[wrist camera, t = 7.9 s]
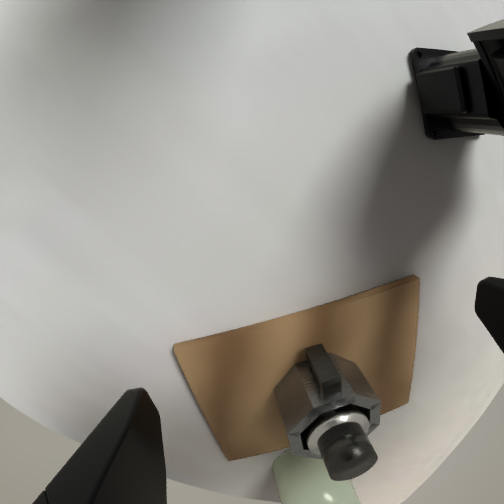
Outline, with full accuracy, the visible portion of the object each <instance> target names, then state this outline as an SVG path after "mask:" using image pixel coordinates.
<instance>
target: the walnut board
mask: <svg viewBox="0 0 504 504" xmlns="http://www.w3.org/2000/svg"><path fill="white" fill-rule="evenodd" d="M419 289H420V278H418V277H417V276H415V275H411V276H408V277H406V278H403V279H400V280H397V281H394V282H391V283H388V284H385V285H382V286H380V287H377V288H374V289H371V290H368V291H365V292H362V293H358V294H355V295H352V296H349V297H346V298H343V299H340V300H337V301H333V302H330V303H327V304H324V305H320V306H317V307H314V308H310V309H307V310H304V311H300V312H297V313H293V314H290V315H286V316H283V317H279V318H276V319H272V320H268V321H265V322H261V323H257V324H254V325H250V326H246V327H242V328H239V329H235V330H231V331H227V332H223V333H219V334H215V335H211V336H207V337H202V338H198V339H194V340H190V341H185V342H181V343H177V344H174V353H175V355H176V357H177V359H178V362H179V364H180V366H181V368H182V370H183V373H184V375H185V377H186V379H187V381H188V383H189V386H190V388H191V390H192V392H193V394H194V396H195V398H196V400H197V402H198V404H199V406H200V408H201V410H202V412H203V414H204V416H205V418H206V420H207V422H208V424H209V426H210V428H211V430H212V432H213V434H214V435H215V437H216V439H217V441H218V443H219V445H220V447H221V448H222V450H223V452H224V454H225V456H226V457H227V459H228V461H232V460H237V459H242V458H247V457H251V456H255V455H260V454H264V453H268V452H272V451H276V450H280V449H283V448H287V447H290V445H289V441H288V438H287V435H286V432H285V429H284V425H283V422H282V419H281V416H280V412H279V409H278V405H277V401H276V398H275V394H274V390H273V389H274V388H275V387H276V385H277V384H278V383H279V382H280V381H281V380H282V378H283V377H284V376H285V375H286V374H287V372H288V371H289V370H290V369H291V368H292V366H293V365H294V364H295V363H299V362H302V361H305V360H307V359H306V352H305V348H308V347H311V346H314V345H317V344H321V343H322V344H323V346H324V348H325V350H326V351H327V353H330V352H331V353H333V354H336V355H338V356H340V357H343V358H345V359H347V360H350V361H352V362H355V363H356V364H357V366H358V367H359V369H360V370H361V372H362V373H363V375H364V376H365V378H366V379H367V381H368V382H369V384H370V385H371V387H372V389H373V390H374V392H375V393H376V395H377V396H378V398H379V399H380V401H381V411H380V415H382V414H384V413H386V412H389V411H391V410H393V409H396V408H398V407H400V406H402V405H404V404H406V403H408V401H409V395H410V389H411V382H412V374H413V367H414V358H415V349H416V338H417V326H418V311H419Z"/></svg>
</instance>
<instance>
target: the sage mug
mask: <svg viewBox="0 0 504 504" xmlns="http://www.w3.org/2000/svg"><path fill="white" fill-rule="evenodd" d="M272 468H273V472H274V476H275V480H276V484H277V488H278V492H279V495H280V499H281V503H282V504H361V502H360V500H359V498H358V496H357V493H356V491H355V489H354V487H353V484H352V482H351V480H350V479H349V480H345V481H334V480H332V479H330V477H329V474H328V471H327V469H326V466H325V464H324V461H323V459H315V458H308V457H302V456H296V455H293V454H292V451H291V449H289V450H287V451H286V452H284V453H283V454H281V455H280V456H279V457H278V458H277V459H276V460H275V461H274V463H273V466H272Z"/></svg>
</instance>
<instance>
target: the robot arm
mask: <svg viewBox="0 0 504 504" xmlns="http://www.w3.org/2000/svg"><path fill="white" fill-rule="evenodd" d="M467 34H468V36H469V38H470V40H471V42H473V43H474V45H475V47H476V49H472V50H467V51H462V52H456V51H447V50H438V49H427V48H415V49H412V50H411V59H412V63H413V67H414V71H415V76H416V81H417V86H418V91H419V96H420V101H421V107H422V113H423V119H424V126H425V133H426V136H427V137H428V138H429V139H433V140H436V139H445V138H454V137H464V136H474V135H484V134H494V135H502V136H504V20H500V21H497V22H494V23H492V24H489V25H487V26H484V27H481V28H479V29H476V30H474V31H471V32H469V33H467ZM417 53H418V55H419V57H418V56H417ZM432 130H433V135H432ZM475 312H476V314H477V316H478V317H479V319H480V320H481V321H482V323H483V324H484V326H485V327H486V328H487V330H488V331H489V333H490V334H491V336H492V337H493V339H494V340H495V342H496V343H497V345H498V346H499V347H500V349H501V350H502V352H503V353H504V279H502V278H495V277H487V278H485V279H483V280H481V281H480V282H479V283H478V285H477V292H476V300H475ZM45 490H46V491H43V492H42V493H41V494H40V495H39V496H38V498H37V499H36V500H35V501H34V502H33V504H167V499H166V498H167V496H166V467H165V459H164V450H163V442H162V432H161V422H160V415H159V412H158V410H157V408H156V407H155V405H154V403H153V402H152V400H151V398H150V396H149V395H148V393H147V391H146V390H145V389H144V388H135V389H129V390H127V391H126V392H125V393H124V394H123V395H122V396H121V398H120V399H119V400H118V401H117V402H116V404H115V405H114V406H113V407H112V408H111V410H110V411H109V412H108V413H107V414H106V416H105V417H104V418H103V419H102V420H101V422H100V423H99V424H98V425H97V426H96V428H95V429H94V430H93V431H92V432H91V434H90V435H89V436H88V437H87V438H86V440H85V441H84V442H83V443H82V444H81V446H80V447H79V448H78V449H77V451H76V452H75V453H74V454H73V456H72V457H71V458H70V459H69V460H68V461H67V463H66V464H65V465H64V466H63V467H62V469H61V470H60V471H59V472H58V473H57V475H56V476H55V477H54V478H53V480H52V481H51V482H50V483H49V484H48V486H47V487H46V488H45Z"/></svg>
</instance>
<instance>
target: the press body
mask: <svg viewBox="0 0 504 504" xmlns="http://www.w3.org/2000/svg"><path fill="white" fill-rule="evenodd" d="M305 352H306V359H307V360H305V361H302V362H299V363H295V364H294V365H293V366H292V368H291V369H290V370H289V371H288V372H287V374H286V375H285V376H284V377H283V378H282V380H281V381H280V382H279V383H278V384H277V385H276V387H275V388H274V389H273V390H274V394H275V398H276V401H277V405H278V409H279V412H280V416H281V419H282V422H283V425H284V429H285V432H286V435H287V438H288V441H289V445H290V448H291V451H292V454H293V455H296V456H302V457H308V458H315V459H322V456H320V455H316V454H313V453H312V452H311V451H310V450H309V448H308V445H307V442H306V439H307V435H308V433H309V432H310V430H311V429H312V428H313V427H314V426H315V425H316V424H317V423H319V422H320V421H322V420H323V419H324V417H323V415H322V413H325V412H328V411H331V410H334V411H335V413H339V412H342V411H348V410H356V411H360V412H362V413H364V414H365V415H366V417H367V419H368V421H369V423H370V427H369V430H368V432H367V434H366V436H368V435H369V434H370V433H371V432H372V431H373V430H374V429H375V428H376V427H377V426H378V425H379V422H380V411H381V401H380V399H379V398H378V396H377V395H376V393H375V392H374V390H373V389H372V387H371V385H370V384H369V382H368V381H367V379H366V378H365V376H364V375H363V373H362V372H361V370H360V369H359V367H358V366H357V364H356V363H355V362H352V361H350V360H347V359H345V358H343V357H340V356H338V355H336V354H333V353H331V352H330V353H327V351H326V350H325V348H324V346H323V344H322V343H321V344H317V345H314V346H311V347H308V348H305Z"/></svg>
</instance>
